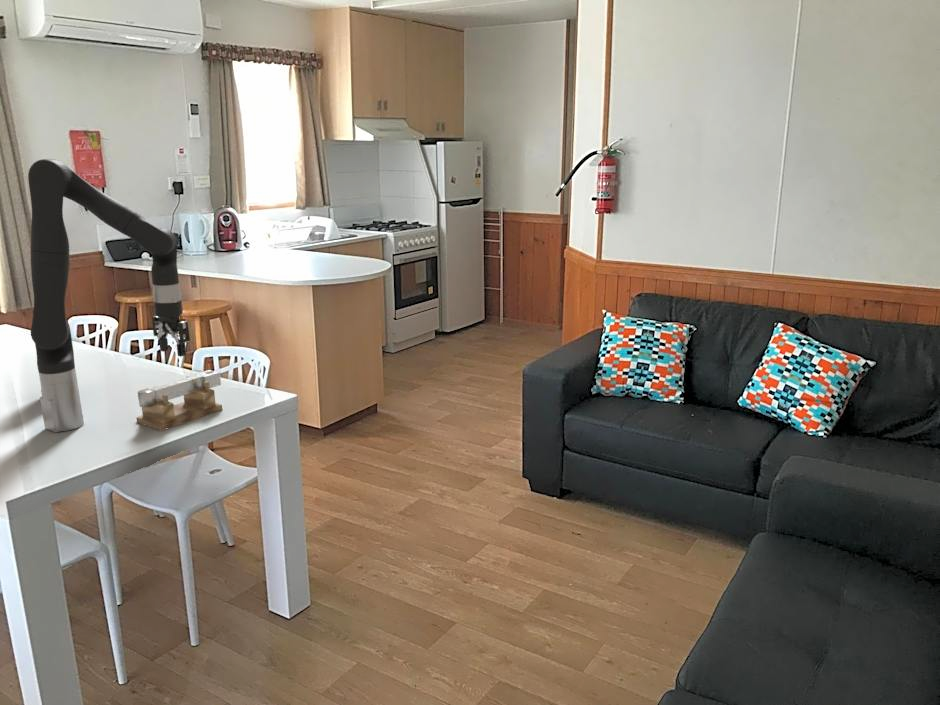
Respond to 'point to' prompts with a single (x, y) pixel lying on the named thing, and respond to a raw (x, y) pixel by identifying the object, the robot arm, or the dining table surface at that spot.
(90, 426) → the dining table surface
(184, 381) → the long white beam
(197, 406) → the tool rest
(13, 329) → the dining table surface
